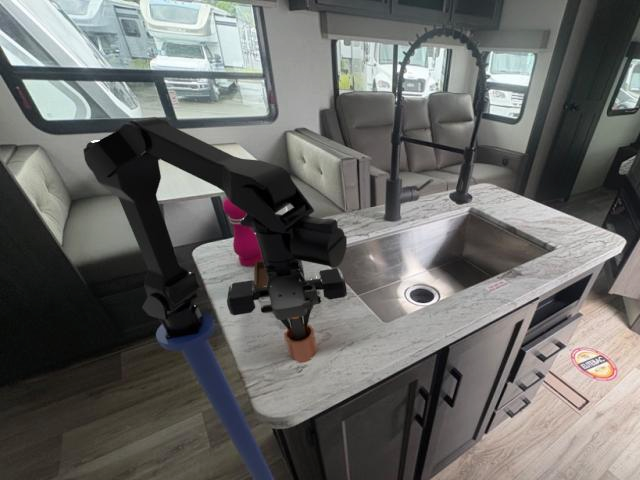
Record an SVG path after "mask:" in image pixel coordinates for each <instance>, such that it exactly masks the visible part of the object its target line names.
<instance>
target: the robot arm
mask: <svg viewBox="0 0 640 480" xmlns="http://www.w3.org/2000/svg"><path fill="white" fill-rule="evenodd" d="M83 158H84V161H85V163H86V166H87V167H88V169H89V170H90V171H91V172H92V174H93V175H94V177H95V179H96V180H97V182H98V184H99V185H101V186H103V188H105V189H106V190H108V191H109V192H111V193H112V194H113V195H115V196H116V197H117V198H118V200H119V202H120V205H121V208H122V210H123V212H124V214H125V217H126V219H127V221H128V224H129V227H130V229H131V230H132V234H133V236H134V238H135V241H136V243H137V245H138V248H139V250H140V252H141V255H142V257H143V259H144V262H145V264H146V267H147V270H148V271H147V274H146V277H145V280H144V283H143V285H144V290H145V292H146V293H145V294H146V296H147V298H146V299H145V301H144V303H143V305H142V307H141V308H142V309H143V311H144V312H145V313H146V314H147V315H148V316H149V317H153V318H156V319H158V320H159V322H160V323H161V325H162V324H163V326H164V328H165V330H166V331H167V332H166V335H165V338H166V339H170V338H176V337H181V336H187V335H193V334H197V333H199V330H200V326H201V325H202V321H203V315H202V314H201V312H200V311H201V310H200V309H199V306H198V305H197V304H194V300H195V299H197V298H198V297H199V295H198V294H199V289H200V288H201V286H200V284H199V283H198V281H197V280H198V279H197V275H196V273H194V272H191V271H189V270H187V269H186V268H185V267H183V266H182V265H181V264H180V262H179V259H178V256H177V254H176V253H177V252H176V251H175V250H176V249H175V248H174V244H173V242H172V241H173V240H172V239H171V236H170V233H169V230H168V227H167V224H166V221H165V217H164V216H163V215H164V214H163V211H162V210H161V207H160V204H159V200H158V196H157V193H158V189H159V186H160V183H161V180H162V175H161V169H160V163H159V161H162V162H164V163H166V164H169V165H171V166H173V167H175V168H177V169H179V170H181V171H183V172H185V173H187V174H190V175H191V176H194V177H195V178H198V179H200V180H201V181H204V182H206V183H208V184H209V185H212V186H214V187H216V188H218V189H219V190H221V191H222V192H224V194H225V196H226V198H228V199H229V201H230V202H231V203H232V204H233V205H235V206H236V207H238V208H240V209H241V210H243V211H244V212H246V213H247V215H246V216H245V217H244V218H243V219H242V220H241V221H240V224H241V225H242V226H247V227H251V228H252V229H254V233H255V234H256V237H257V240H258V244H259V248H260V251H261V255H262V259H263V262H264V266H265V270H266V274H267V277H268V280H267V286H264V287H260V288H256V284H255V281H254V279H251V280H244V281H238V282H231V284H230V285H229V287H228V290H227V297H226V305H227V309H228V312H229V313H230V315H232V316H239V315H245V314H251V313H253V311H254V310H255V309H256V303H255V301H258V303H259V304H260V312H261V313H262V314H273V315H274V317H275V319H276V320H277V321H280V322H281V323H282V324H283V325H284V327H286V329H288V330H290V329H291V323H290V319H289V318H293V317H302V319H303V323H304V325H305V327H306V326H307V324H309V320H310V316H311V312H312V310H313V309H314V306H316V305H320V304H321V303H322V296H321V291H322V292H323V297H324V298H326V299H327V300H336V299H343V298H345V297H347V295H348V291H347V284H346V280H345V277H344V275H343V274H344V273H343V271H342V270H341V269H340V268H339V267H340V265H341V264H342V262H343V261H344V258H345V256H346V251H347V246H348V245H347V244H348V243H347V241H348V240H347V236H346V234H345V232H344V229H342V228H341V227H339V223H338V220H337V219H334V218H320V217H315V216H311V215H313V213H314V212H315V208H314V207H313V206H312V204H310V202H309V200H308V199H307V197H306V196H305V195H304V194H303V193H302V191H301V190H300V189H299V187H298V186H297V184H295V182H294V181H293V178H292V177H291V176H292V175H291V173H289V171H288V170H286V168H284V167H283V166H280V165H277V164H274V163H270V162H266V161H263V160H260V159H248V158H241V157H238V156H235V155H232V154H230V153H228V152H226V151H224V150H222V149H220V148H218V147H216V146H213V145H212V144H209V143H207V142H205V141H204V140H201V139H199V138H197V137H195V136H193V135H190V134H189V133H187V132H186V131H182V130H181V129H178V128H177V127H174V126H172V125H171V124H170V123H169V122H168V121H167V120H165V119H164V118H161V117H156V116H152V117H151V116H150V117H144V118H139V119H133V120H128V121H127V122H126V123H125V124H123V125H122V126H120V128H119V129H118V130H116V131H114V132H112V133H110V134H108V135H107V136H105V137H102V138H100V139H98V140H93V141H89V142H87V143H86V146H85V148H83ZM289 205H290V206H292V208H290V209H288V211H287V212H286V213H284V214H283V215H281V214H275V213H276V212H278V211H280V210H281V209H283V208H284V207H286V206H287V207H288V206H289ZM303 262H307V263H311V264H317V265H321V266H326V267H331V268H328V269H322V270H319V271H318V274H319V278H317V276H311V277H305V271H304V266H303Z"/></svg>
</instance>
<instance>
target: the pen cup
mask: <svg viewBox="0 0 640 480" xmlns="http://www.w3.org/2000/svg"><path fill="white" fill-rule="evenodd" d="M303 324H304V322H303ZM304 329H305V334H306V339H304V340H301V341H295V340H294V336H293V331H292V327H291V329H290V330H288V329H287V328H286V329H285V331H284V333H283V336H284V337H283V338H284V341H285V344H286V349H287V353H288V356H289V358H290V359H292V361H294V362H295V361H296V363H298V364H302V363H307V362H310V361H312V360H313V358H314V357H315V356H316V354H317V352H318V345H317V340H316V336H315V335H316V333H315V329H314V327H313V326H312V325H311V324H309V323H308V324H307V326H306V327H305V325H304Z"/></svg>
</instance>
